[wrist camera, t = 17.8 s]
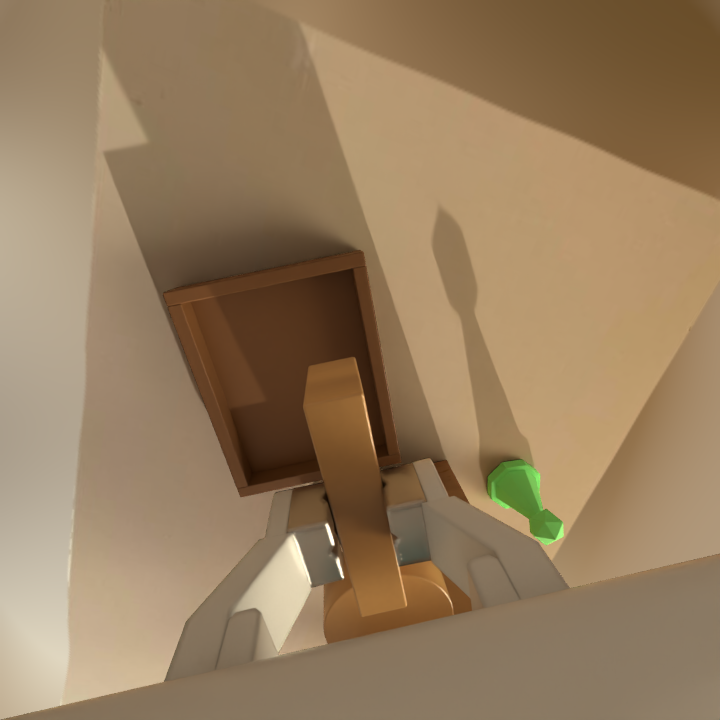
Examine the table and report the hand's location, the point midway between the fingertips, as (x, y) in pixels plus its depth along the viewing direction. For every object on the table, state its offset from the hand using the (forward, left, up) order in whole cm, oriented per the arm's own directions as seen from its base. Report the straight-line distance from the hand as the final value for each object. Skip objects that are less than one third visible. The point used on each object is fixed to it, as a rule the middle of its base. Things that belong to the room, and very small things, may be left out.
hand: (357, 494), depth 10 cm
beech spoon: (+2, 0, -2) cm, 3 cm away
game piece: (+15, +11, -15) cm, 24 cm away
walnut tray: (+2, -3, -15) cm, 16 cm away
